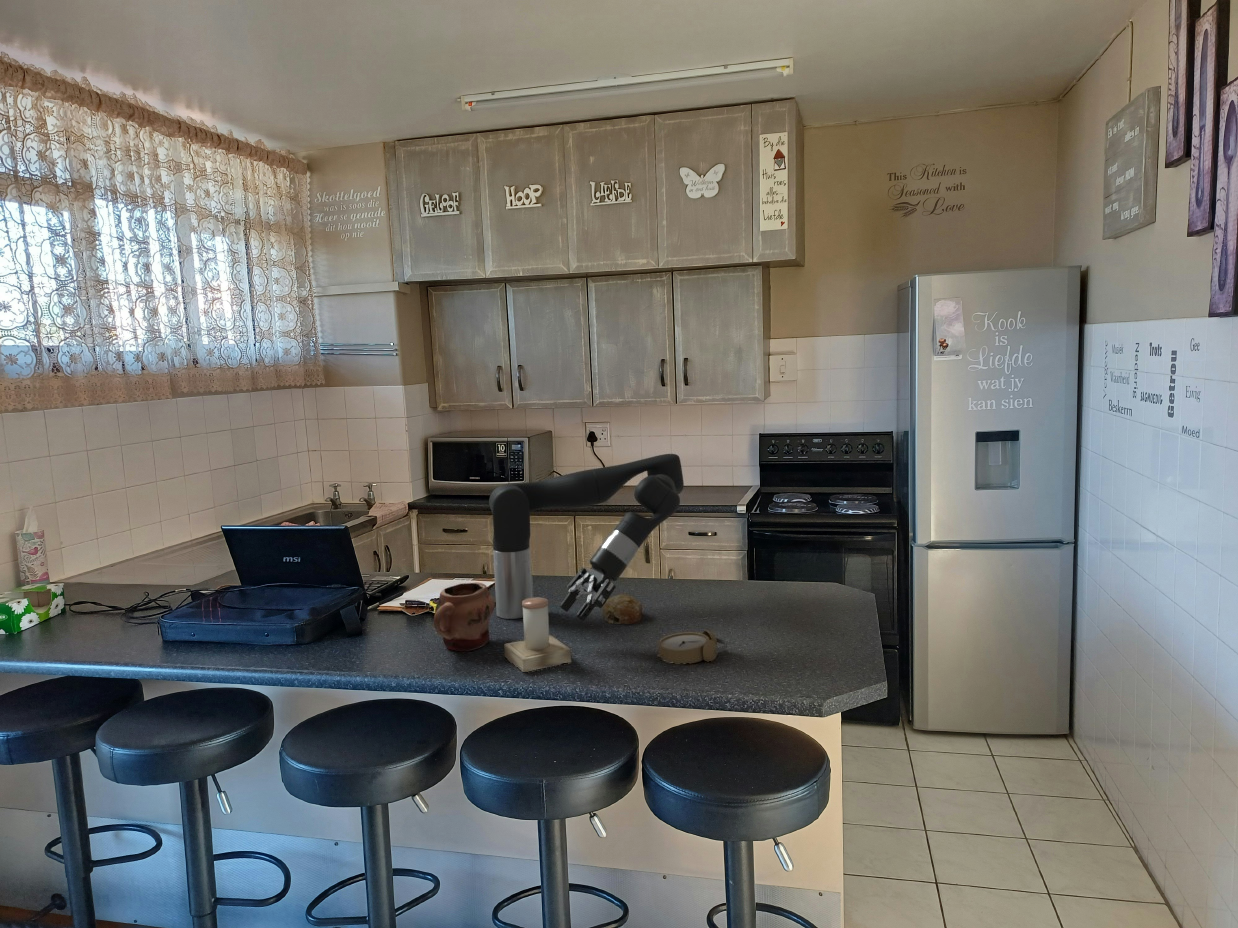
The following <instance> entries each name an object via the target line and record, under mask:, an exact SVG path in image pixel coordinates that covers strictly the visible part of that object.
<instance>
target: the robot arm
mask: <svg viewBox="0 0 1238 928" xmlns="http://www.w3.org/2000/svg"><path fill="white" fill-rule="evenodd" d="M645 472H646V474H647V476H645V477H643V478H642V479H641V480H640V481H639V483H638V484H636V486H635V488H634V493H633V494H634V495H633V497H634V499H635V501H636V502H637V503H638V504H639V505H641V506H642V507H643V508H644V509H646V510H647V511H648V512H650V513H651V514H652V516H650V517H646V516H642V515H641V514H639V513H636V512H633V511H628V512H627V513H625V514H624V516H623V517H622V518H621V520H620V521H619V522H618V523H617V525H616V526H615V528H614V529H613V531H611V532H610V534H608V536H606V538H605V539H604V541H603V542H602V543H601V545H600V546H599V547H598V549H597V550H596V551H595V553H594V554H593V555H592V557H591V558H590V560H589V564H590V565H591V567H590V568H589V570H588V569H586V568H585V567H584V566H583V567H581V568H580V569H579V570H578V572H576V574H575V575H574V577H573V578H572V579H571V580H570V582H569V583H568V584H567V586H566V588H567V589H568V594H566V596H565V597H564V599H563V600H562V602H561V603H560V604H559V608H561V610H563V611H564V612H568V611H570V609H571V608H572V606H573V605H574V604H575V602H576V601H577V600H578V598H579V597H580V596H582V595H587V597H586V598H587V599H586V602H584V604H583V605H581V607H580V608H579V610H578V611H577V613H576V614H575V617H576V618H577V619H578V620H579V621H580V622H583V623H584V622H585V621H586V620H587V618H588V617H589V615H590V614H591V613H592V611H593V610H595V609H597V608H598V609H603V606H604V604H605V603H606V601H607V600H608V599H609V598H611V595H612V594H613V592H614V590H615V589H617V588H616V587H617V586H616V584H614V583H613V582H617V581H618V580H619V578H620V577H621V575H622V574H623V573H624V571H625V570H626V568H627V567H628V566H629V565H630V563H631V561H632V560H633V559H634V557H635V556H636V554H637V552H638V551H639V549H640V548H641V546H643V543H644V542H645V541H646V539H647V538H648V537H649V536H650V534H651V533H652V532H653V531H654V530H655V529H656V528H657V527H659V525H661V524H663V522H665V521H666V520H668V518H670V517H671V516H672V515H674V514H675V513H676V512H677V510H678V509H679V507H680V503H681V497H680V496H679V495H680V494H681V493H682V492H683V490H684V486H685V483H684V476H683V469H682V462H681V459H680V456H679V454H676V453H665V454H659V455H655V456H651V457H646V458H642V459H638V460H634V461H630V462H627V463H621V464H615V465H610V466H604V467H598V468H597V467H596V468H590V469H585V470H581V471H575V472H572V473H568V474H567V473H566V474H563V475H558V476H554V477H550V478H548V479H544V480H537V481H529V482H517V483H506V484H505V483H504V484H501V485H499V486H497V487H496V488H495V489H493V491H492V492H491V493H490V496H489V500H488V505H489V508H490V510H491V512H492V529H493V531H492V533H493V534H492V537H493V538H492V551H493V553H492V554H493V569H494V588H495V590H494V591H495V607H496V610H495V611H496V616H497V617H499V618H502V619H505V620H506V619H507V620H509V619H511V620H513V619H522V618H523V607H522V601H523V600H525V599H528V598H534V583H533V581H534V580H533V573H532V572H531V571H532V569H531V552H530V551H531V550H530V538H531V514H530V513H531V512H534V511H537V510H543V509H551V508H552V509H574V508H577V509H578V508H584V507H589V506H595V505H600V504H603V503H605V502H607V501H608V500H610V499H611V498H612V497H613V496H614V495H615V494H616V493H618V492H619V491H620V490H621V489H622V488H623V486H625V485H626V484H627V483H628V482H630V480H632V479H633V478H635V477H637V476H638V475H640V474H643V473H645Z"/></svg>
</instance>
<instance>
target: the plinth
mask: <svg viewBox="0 0 1238 928" xmlns="http://www.w3.org/2000/svg"><path fill="white" fill-rule="evenodd" d="M549 643H550V646H549V647H547V648H545V649H542V650H529V649H526V648H525V642H524V639H523V640H519V641H514V642H508V643H504V658H505V657H506V658H507V659H506V658H505V659H506V660H507V661H508V662H510V663H511V664H512V663H513V664H514V665H515V666H514V667H516V668H517V667H518V668H519V669H520V670H521V671H522V672H528V671H532V670H536V669H540V668H544V667H548V666H553V665H558V664H561V663H567V662H571V663H572V650H571V648H569V647H568V646H567V645H565V644H564V643H562V642H561V641H560V640H558V639H557V638H556V637H554V636H553V635H551V634H549ZM513 664H512V665H513ZM518 668H517V669H518ZM519 669H518V670H519ZM520 670H519V671H520ZM521 671H520V672H521ZM522 672H521V673H522ZM532 672H533V671H532ZM528 673H529V672H528Z"/></svg>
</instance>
